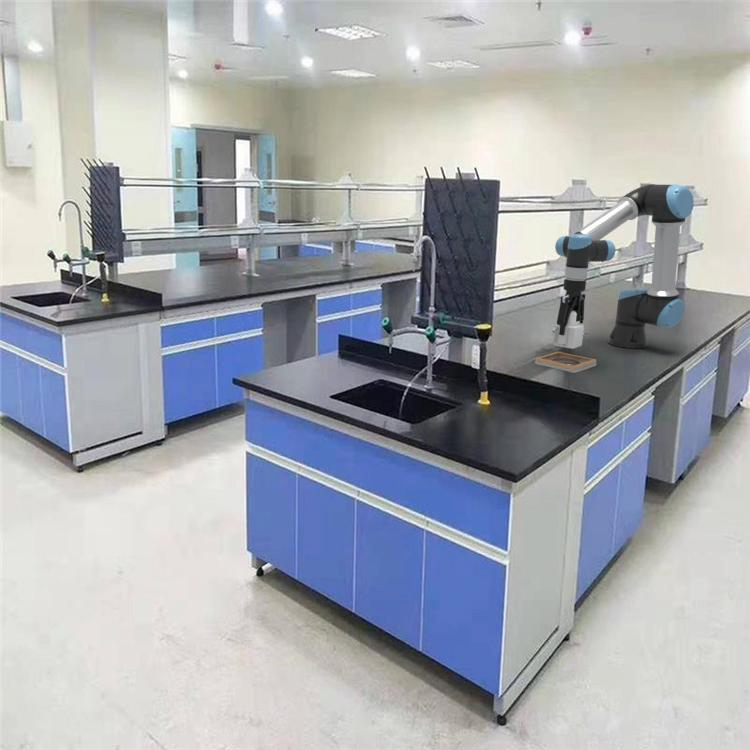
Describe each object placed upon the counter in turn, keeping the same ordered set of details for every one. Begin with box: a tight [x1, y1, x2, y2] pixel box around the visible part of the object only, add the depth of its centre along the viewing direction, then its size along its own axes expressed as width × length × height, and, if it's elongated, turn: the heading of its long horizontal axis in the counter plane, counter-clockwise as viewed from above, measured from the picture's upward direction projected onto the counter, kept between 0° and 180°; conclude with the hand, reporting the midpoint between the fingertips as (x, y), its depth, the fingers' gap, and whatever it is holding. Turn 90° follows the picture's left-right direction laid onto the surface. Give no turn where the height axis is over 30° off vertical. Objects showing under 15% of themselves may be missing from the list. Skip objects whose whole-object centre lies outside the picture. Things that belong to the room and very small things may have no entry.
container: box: [552, 309, 585, 350], centre depth 251 cm, size 8×8×13 cm
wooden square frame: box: [534, 351, 597, 374], centre depth 255 cm, size 16×16×2 cm
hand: (567, 342), depth 253 cm, fingers closed on container, 8 cm apart
